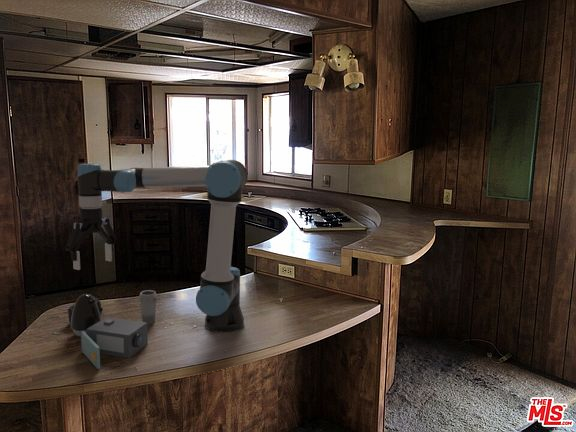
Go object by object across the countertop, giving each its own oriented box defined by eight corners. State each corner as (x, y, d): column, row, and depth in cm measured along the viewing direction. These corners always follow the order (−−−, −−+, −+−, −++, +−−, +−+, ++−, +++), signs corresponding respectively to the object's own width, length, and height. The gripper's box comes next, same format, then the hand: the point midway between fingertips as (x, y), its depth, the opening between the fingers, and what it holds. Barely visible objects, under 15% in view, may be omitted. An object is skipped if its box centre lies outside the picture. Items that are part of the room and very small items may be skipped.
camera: (88, 328, 172) (87, 303, 170) (65, 325, 173) (64, 300, 172) (109, 315, 184) (108, 292, 183) (87, 313, 186) (86, 289, 185)
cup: (161, 322, 179) (160, 293, 177) (145, 327, 174) (145, 297, 172) (151, 317, 184) (150, 288, 182) (136, 321, 179) (135, 292, 177)
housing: (151, 344, 160) (150, 320, 158) (133, 359, 149) (132, 333, 148) (107, 338, 164) (106, 314, 162) (86, 351, 153) (85, 327, 152)
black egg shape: (83, 343, 159) (81, 301, 157) (65, 335, 165) (63, 295, 162) (108, 333, 168) (106, 293, 166) (90, 326, 173) (88, 288, 171)
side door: (100, 368, 142) (100, 347, 141) (94, 370, 141) (93, 348, 139) (84, 350, 153) (83, 330, 152) (78, 351, 152) (77, 331, 151)
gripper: (112, 202, 175) (114, 256, 179) (51, 210, 153) (55, 271, 157) (125, 204, 172) (127, 259, 175) (66, 212, 150) (69, 274, 153)
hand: (93, 265), depth 166 cm, fingers open, 13 cm apart
